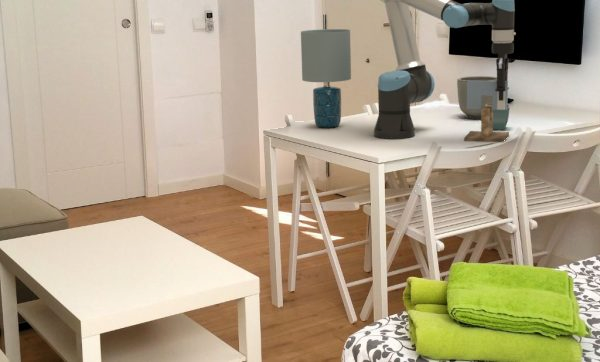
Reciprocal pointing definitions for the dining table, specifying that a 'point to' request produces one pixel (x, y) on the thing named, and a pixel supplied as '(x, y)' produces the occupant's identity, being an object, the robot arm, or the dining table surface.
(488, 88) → the slotted board
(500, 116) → the flower pot
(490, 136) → the jig
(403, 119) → the robot arm
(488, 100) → the planter
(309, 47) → the lamp
